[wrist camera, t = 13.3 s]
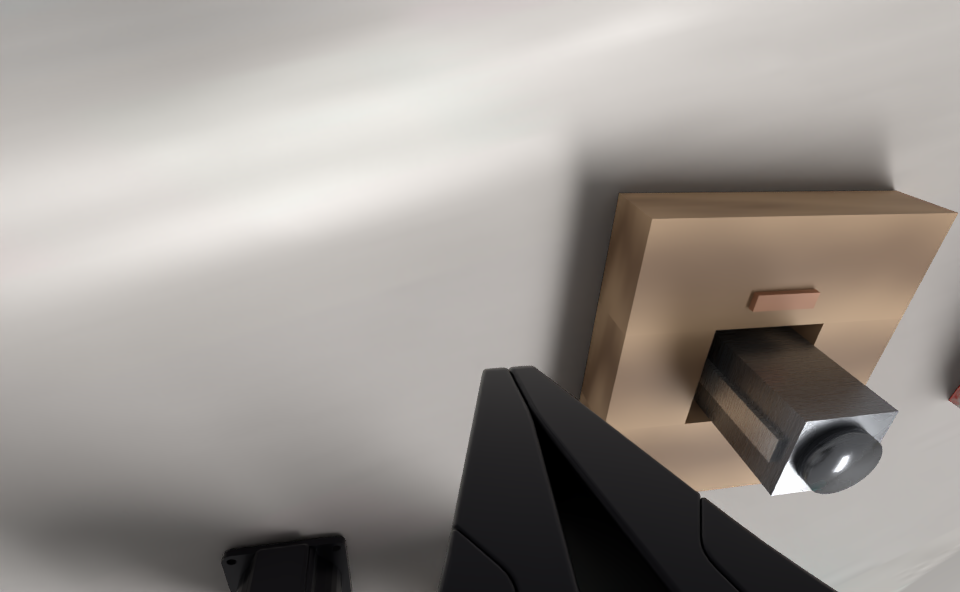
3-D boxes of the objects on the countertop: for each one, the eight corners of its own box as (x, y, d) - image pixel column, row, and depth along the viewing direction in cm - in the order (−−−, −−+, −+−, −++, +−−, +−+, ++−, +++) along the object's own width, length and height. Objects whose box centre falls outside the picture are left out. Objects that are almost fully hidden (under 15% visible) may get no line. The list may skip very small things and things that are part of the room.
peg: (761, 304, 26) (912, 422, 19) (738, 366, 28) (867, 495, 21) (685, 309, 25) (812, 434, 18) (667, 373, 27) (775, 509, 20)
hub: (780, 438, 32) (819, 480, 29) (567, 461, 29) (588, 510, 27) (895, 190, 24) (965, 215, 21) (619, 193, 21) (656, 221, 19)
